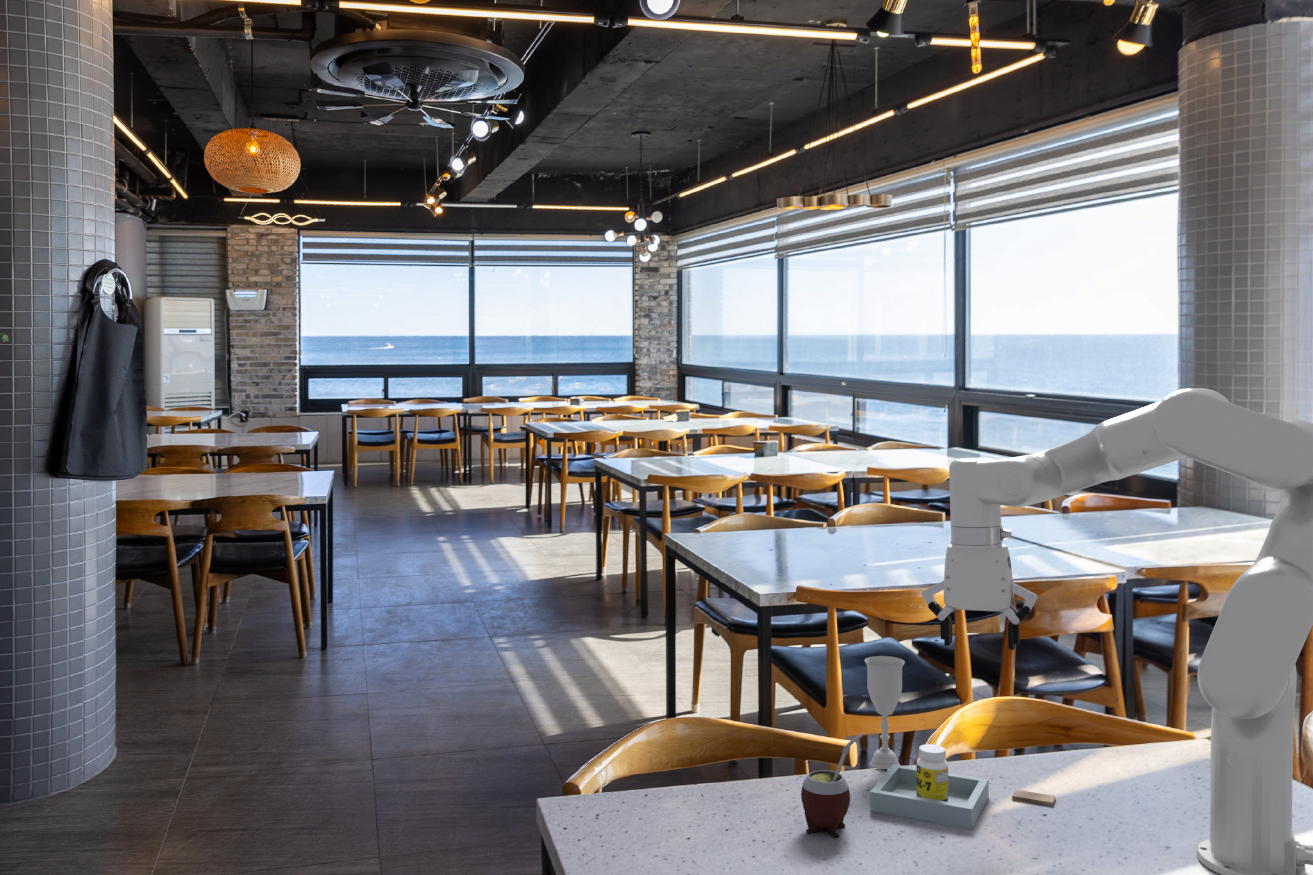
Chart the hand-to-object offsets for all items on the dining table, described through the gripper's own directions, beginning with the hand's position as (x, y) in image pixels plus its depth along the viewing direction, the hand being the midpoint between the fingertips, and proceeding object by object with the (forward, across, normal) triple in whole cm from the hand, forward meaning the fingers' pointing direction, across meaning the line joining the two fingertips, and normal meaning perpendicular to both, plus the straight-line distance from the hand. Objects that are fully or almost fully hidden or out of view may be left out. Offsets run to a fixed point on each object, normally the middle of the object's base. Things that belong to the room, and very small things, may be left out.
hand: (980, 646), depth 161 cm
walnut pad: (+24, -7, -4) cm, 26 cm away
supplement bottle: (+24, +7, +5) cm, 25 cm away
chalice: (+24, +18, -9) cm, 31 cm away
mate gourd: (+24, +19, +21) cm, 37 cm away
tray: (+24, +8, +5) cm, 26 cm away
